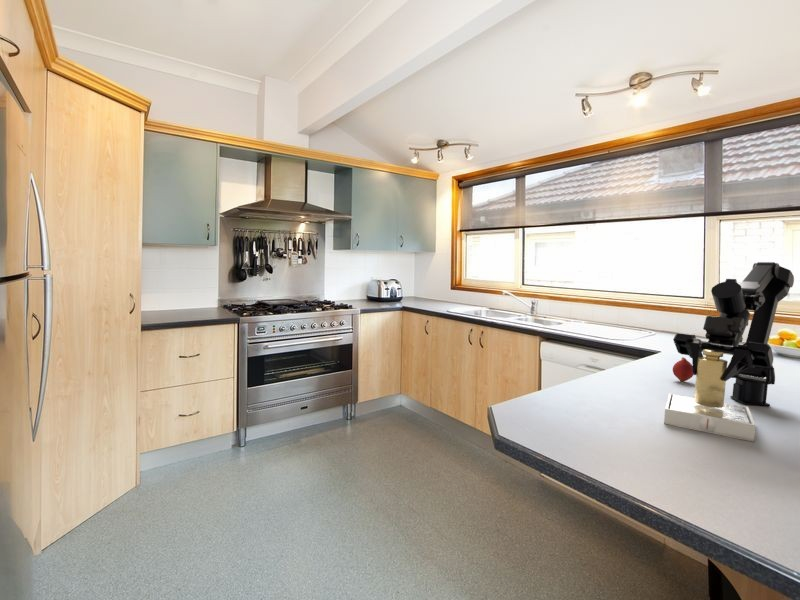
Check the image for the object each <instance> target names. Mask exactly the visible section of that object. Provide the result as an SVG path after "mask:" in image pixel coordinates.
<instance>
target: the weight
mask: <svg viewBox="0 0 800 600" xmlns="http://www.w3.org/2000/svg"><path fill="white" fill-rule="evenodd" d="M723 353H724V352H722V351H717V350H707V349H705V350H703V352H702V355H703V357H698V362H697V373H696V375H695V387H694V397H693V398H694V402H695V403H697V404H699V405H703V406H707V407H714V408H722V407H723V405H724V403H725V393H726V392H725V391H726V384H727V383H726V382H727V381H724V380H723V376H724V373H725V371H726V369H727V367H728V364H729V362H728V360H726V359H722V358H724V354H723Z"/></svg>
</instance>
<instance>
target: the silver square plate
mask: <svg viewBox="0 0 800 600" xmlns="http://www.w3.org/2000/svg"><path fill="white" fill-rule="evenodd" d="M676 395H677V394H675V395H673V398H672V402H671V407H670V409H673V410H678V411H684V412H689V413H694V414H700V415H705V416H710V417H716V418H721V419H727V420H732V421H737V422H743V423H748V424H749V420H748V418H747V415H746V412H745V409H744V407H741V406H742V405H740V406H735V405H736V404H734V405H729V404H730V403H728V404H724V405H723V407H722V408H714V407H707V406H703V405H699V404H697V403H695V402H694V397H693V398H688V397H689V396H687V397H682V396H683V395H681V396H676Z"/></svg>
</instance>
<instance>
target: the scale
mask: <svg viewBox="0 0 800 600" xmlns="http://www.w3.org/2000/svg"><path fill="white" fill-rule="evenodd" d="M673 395H676V396H682V397H688V398H694V397H692V396H686V395H680V394H673V393H668V398H667V400H666V405H665V407H664V408H665V409H664V419H663V424H664V425H669V426H674V427H679V428H683V429H689V430H694V431H699V432H703V433H708V434H714V435H718V436H723V437H728V438H732V439H733V438H734V439H738V440H742V441H748V442H755V431H756V423H755V420H754V418H753V415H752V413H751V410H750V408H749V406H747V405H746V406H745V405H740V404H739V405H738V404H733V403H727V402H724V404H729V405H735V406H741V407H744V409H745V412H746V415H747V418H748V420H749V424H748V423H743V422H737V421H732V420H727V419H721V418H716V417H710V416H705V415H700V414H694V413H689V412H684V411H678V410H673V409H670V407H671V402H672V398H673Z"/></svg>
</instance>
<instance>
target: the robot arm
mask: <svg viewBox="0 0 800 600" xmlns="http://www.w3.org/2000/svg"><path fill="white" fill-rule="evenodd" d="M752 265H753V266H752V268H751V270H750V271H749V273H747V275H745V277H744V278H743V280H742V281H740V282H738V281H737V278H726V279H725V281H722V282H719V283H717V284H715V285H714V286H712V287H711V290H710V292H711V295H712V299H713V303H714V306H715V309H716V311H717V312H719V316H714V315H707V316H706V317H705V320H704V325H703V327H702V328H703V330H704V331H705V332H706V333H705V338H706V339H707V340H708V341H706V340H701V339H699V338H697V337H696V335H695V334H692V333H684V332H677V333H676V334H675V335H674V337H673V338H672V339H673V343H674V345H675V348H676V350H677V351H676V352H677V353H678V354H680V355H685V356H688V357H689V358H691V360H692V362H691V364H692V366H693V376H696V373H697V362H698V357H704V355H703V350H705V349H707V350H717V351H722V352H724V353H723V355H729V356H732V357H731V358H730V362H728V364H727V369H726V371H725V373H724V376H723V380H724V381H726V382H727V381H728V380H730V379H731V378H732V379H735V382H734V383H733V387H732V395H730V396H729V397H730V398H731V399H732V400H735V401H737V402H738V403H741V404H743V405H751V406H762V407H763V406H766V407H770V406H771V404H770V403H769V402H767V395H768V386H770V385H775V384H776V374H775V373H776V372H775V368H774V366H773V363H774V355H773V350H772V346H770V344H769V340H770V336H771V332H772V328H773V324H774V319H775V315H776V313H777V308H778V304H779V302H780V301H782V300H783V299H785V298H786V297H787V296H788V295H789V292H790V290H791V289H790V288H793V286H794V282H795V277H794V274H793V272H792V271H791V270H790V269H788V268H786V267H783V266H780V264H779V263H778V262H775V261H774V262H773V261H768V262H767V261H758V262H754V263H753V264H752ZM749 311H751V312H752V311H753V314H752V319H751V322H750V325H749V321H750V318H751V312H749ZM748 326H749V328H748V334H747V337H746V341H745V342H744V343H743V344H741V343H742V342H743V340H744V338H743V335H744V333H745V330H746V328H747V327H748Z"/></svg>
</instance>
